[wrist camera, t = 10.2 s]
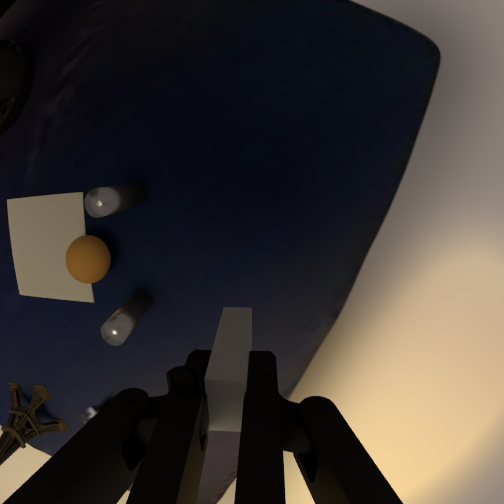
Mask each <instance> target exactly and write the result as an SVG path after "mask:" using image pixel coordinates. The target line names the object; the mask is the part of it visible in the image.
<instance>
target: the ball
mask: <svg viewBox="0 0 504 504" xmlns="http://www.w3.org/2000/svg"><path fill="white" fill-rule="evenodd" d="M65 261H66V267H67V269H68V271H69V273H70V274H71V276H72V277H73V278H74V279H76V280H77V281H79V282H82V283H94V282H97V281H99V280H101V279H102V278H103V277H104V276H105V275H106V273H107V272H108V270H109V267H110V261H111V257H110V252H109V249H108V247H107V246H106V244H105V243H104V242H103V241H102V240H101V239H99V238H97V237H95V236H91V235H84V236H81V237H78V238H76V239H75V240H74V241H73V242H72V243H71V244H70V245H69V247H68V249H67V252H66V257H65Z"/></svg>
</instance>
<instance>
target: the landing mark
mask: <svg viewBox="0 0 504 504" xmlns="http://www.w3.org/2000/svg"><path fill="white" fill-rule="evenodd" d="M7 206H8V218H9V229H10V238H11V245H12V253H13V259H14V266H15V272H16V277H17V282H18V288H19V292H20V295H27V296H35V297H44V298H53V299H63V300H73V301H83V302H94V295H93V289H92V283H82V282H79V281H77V280H76V279H74V278H73V277H72V276H71V274H70V273H69V271H68V269H67V267H66V261H65V257H66V252H67V249H68V247H69V245H70V244H71V243H72V242H73V241H74V240H75V239H76V238H78V237H81V236H84V235H86V229H85V216H84V198H83V192H77V193H65V194H54V195H44V196H34V197H25V198H16V199H8V200H7Z"/></svg>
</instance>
